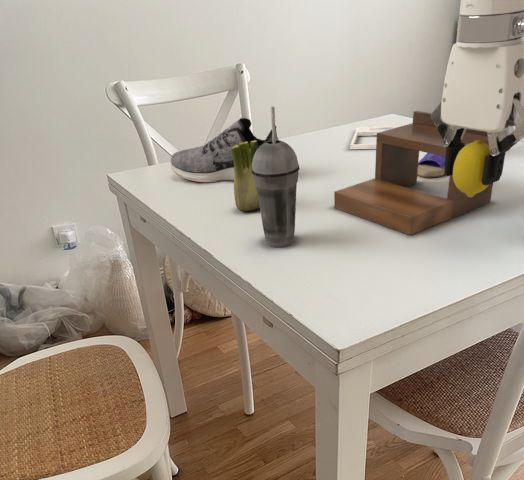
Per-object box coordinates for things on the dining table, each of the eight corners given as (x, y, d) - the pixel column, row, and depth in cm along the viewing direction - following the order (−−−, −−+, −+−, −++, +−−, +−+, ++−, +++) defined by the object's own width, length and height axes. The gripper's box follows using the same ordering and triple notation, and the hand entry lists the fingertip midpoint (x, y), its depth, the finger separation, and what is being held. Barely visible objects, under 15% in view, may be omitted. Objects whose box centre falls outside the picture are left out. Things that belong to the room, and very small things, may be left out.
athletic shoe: (184, 169, 126) (175, 114, 119) (293, 172, 117) (291, 113, 110) (165, 182, 118) (154, 124, 111) (280, 186, 110) (276, 124, 103)
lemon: (493, 203, 75) (502, 144, 70) (451, 204, 76) (457, 146, 72) (488, 189, 79) (496, 133, 75) (448, 191, 81) (454, 135, 76)
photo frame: (414, 124, 138) (413, 143, 124) (414, 129, 139) (413, 148, 125) (357, 126, 142) (350, 144, 128) (357, 130, 143) (350, 149, 128)
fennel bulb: (261, 202, 103) (255, 136, 96) (268, 210, 99) (263, 142, 92) (231, 207, 102) (224, 141, 95) (238, 216, 98) (231, 147, 91)
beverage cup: (254, 251, 84) (241, 115, 73) (260, 232, 90) (250, 104, 79) (300, 250, 83) (295, 112, 72) (304, 232, 89) (299, 101, 78)
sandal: (401, 173, 111) (406, 93, 102) (455, 150, 121) (464, 76, 112) (435, 180, 105) (444, 97, 97) (489, 156, 116) (501, 79, 107)
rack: (410, 181, 106) (416, 110, 99) (490, 202, 94) (503, 123, 86) (334, 207, 97) (333, 132, 90) (410, 235, 85) (417, 150, 77)
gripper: (576, 26, 61) (544, 183, 72) (452, 25, 73) (440, 160, 84) (537, 35, 58) (509, 199, 68) (414, 33, 70) (406, 172, 80)
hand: (471, 176), depth 76 cm, fingers closed on lemon, 5 cm apart
